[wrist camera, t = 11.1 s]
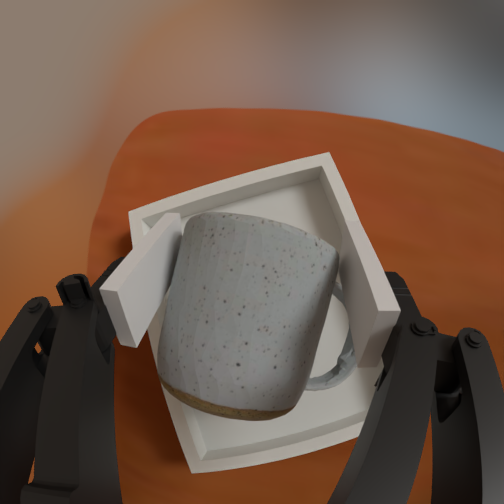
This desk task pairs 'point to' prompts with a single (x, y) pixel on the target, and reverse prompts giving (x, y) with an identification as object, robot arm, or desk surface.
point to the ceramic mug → (248, 317)
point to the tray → (333, 334)
